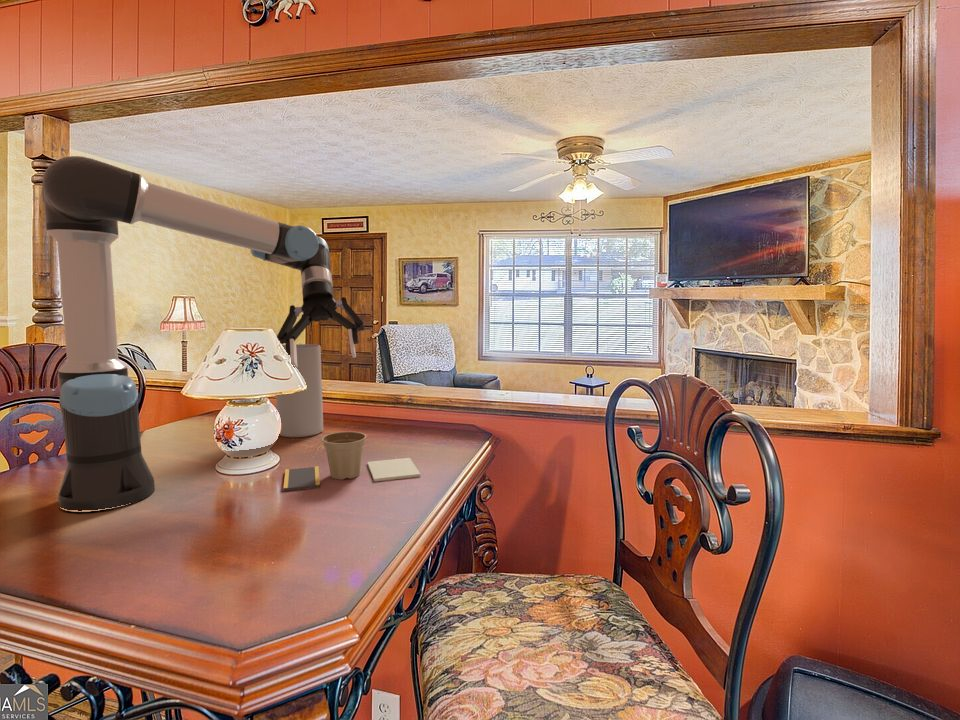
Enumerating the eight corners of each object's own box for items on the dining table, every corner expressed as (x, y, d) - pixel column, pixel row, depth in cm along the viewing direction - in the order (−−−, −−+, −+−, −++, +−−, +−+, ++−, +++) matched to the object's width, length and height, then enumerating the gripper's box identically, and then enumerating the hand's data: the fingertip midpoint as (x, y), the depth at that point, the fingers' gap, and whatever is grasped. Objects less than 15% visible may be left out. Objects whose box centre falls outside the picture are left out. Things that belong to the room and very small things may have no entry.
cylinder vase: (267, 436, 145) (263, 347, 142) (295, 425, 157) (292, 343, 154) (306, 439, 141) (302, 349, 138) (331, 429, 153) (329, 345, 150)
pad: (374, 481, 110) (374, 478, 110) (367, 464, 121) (367, 461, 121) (420, 476, 113) (420, 473, 113) (409, 460, 124) (409, 457, 124)
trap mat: (283, 491, 104) (283, 488, 104) (285, 472, 115) (285, 469, 115) (319, 487, 106) (319, 484, 106) (318, 469, 118) (318, 466, 117)
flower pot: (361, 483, 109) (360, 443, 108) (316, 482, 109) (315, 442, 108) (371, 468, 118) (370, 431, 117) (330, 468, 118) (329, 431, 117)
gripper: (369, 290, 136) (379, 358, 126) (271, 305, 132) (274, 377, 122) (364, 271, 129) (375, 342, 119) (261, 287, 126) (263, 361, 116)
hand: (324, 360), depth 121 cm, fingers open, 13 cm apart
